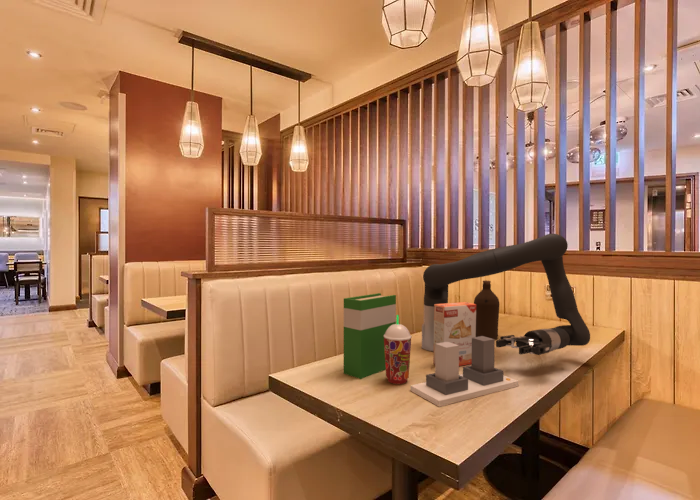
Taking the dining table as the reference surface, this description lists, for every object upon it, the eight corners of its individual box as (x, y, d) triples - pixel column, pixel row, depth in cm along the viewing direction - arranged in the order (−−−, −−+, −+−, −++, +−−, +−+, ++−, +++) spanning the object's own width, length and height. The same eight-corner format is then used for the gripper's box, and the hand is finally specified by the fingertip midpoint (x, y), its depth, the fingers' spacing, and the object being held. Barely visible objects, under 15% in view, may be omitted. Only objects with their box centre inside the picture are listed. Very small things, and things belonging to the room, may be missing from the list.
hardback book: (378, 361, 135) (379, 293, 135) (395, 365, 130) (395, 295, 130) (343, 373, 123) (343, 298, 122) (360, 379, 117) (360, 300, 117)
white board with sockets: (410, 390, 108) (410, 343, 108) (486, 373, 122) (486, 331, 122) (439, 406, 98) (439, 354, 97) (518, 385, 112) (518, 339, 112)
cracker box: (444, 369, 126) (444, 306, 126) (432, 364, 131) (432, 303, 131) (476, 364, 132) (477, 303, 132) (464, 359, 137) (464, 301, 137)
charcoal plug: (471, 377, 114) (471, 337, 114) (482, 375, 116) (482, 335, 116) (483, 382, 110) (483, 341, 110) (494, 380, 112) (494, 339, 112)
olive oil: (504, 340, 164) (504, 281, 164) (480, 341, 162) (481, 282, 162) (491, 334, 175) (491, 279, 174) (469, 335, 173) (469, 279, 172)
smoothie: (404, 388, 110) (404, 318, 110) (378, 382, 114) (378, 315, 114) (415, 379, 117) (415, 314, 117) (390, 374, 122) (391, 311, 121)
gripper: (523, 325, 132) (489, 330, 124) (562, 334, 120) (528, 340, 112) (523, 347, 132) (489, 353, 125) (562, 358, 120) (528, 366, 112)
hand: (508, 347), depth 118 cm, fingers open, 8 cm apart
